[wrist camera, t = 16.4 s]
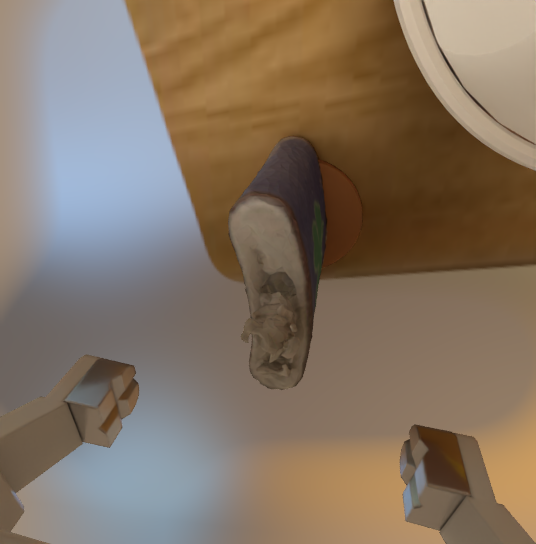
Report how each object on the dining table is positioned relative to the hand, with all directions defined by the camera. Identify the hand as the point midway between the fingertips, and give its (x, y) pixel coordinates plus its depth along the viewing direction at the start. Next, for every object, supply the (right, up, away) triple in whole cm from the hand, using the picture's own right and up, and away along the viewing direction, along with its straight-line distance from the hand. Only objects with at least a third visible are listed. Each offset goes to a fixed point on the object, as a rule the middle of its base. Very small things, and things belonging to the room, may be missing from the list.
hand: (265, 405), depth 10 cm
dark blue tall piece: (+2, +7, +11) cm, 13 cm away
